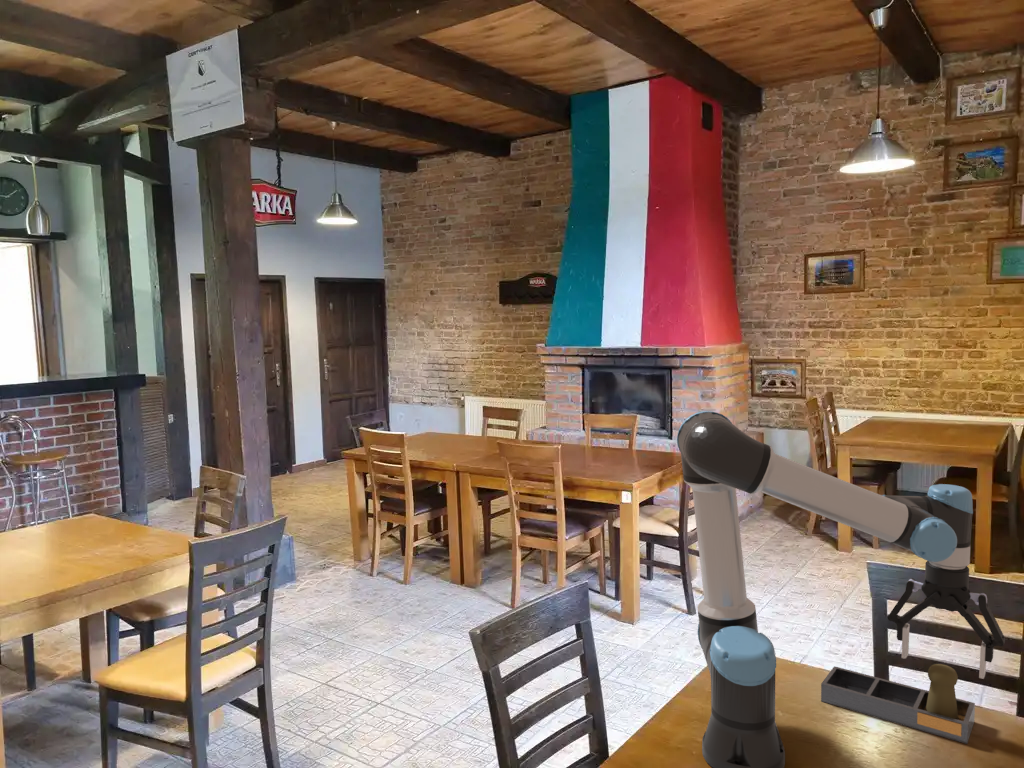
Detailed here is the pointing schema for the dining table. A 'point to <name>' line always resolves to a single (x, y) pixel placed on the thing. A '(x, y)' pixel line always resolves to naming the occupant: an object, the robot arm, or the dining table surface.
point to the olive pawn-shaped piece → (942, 691)
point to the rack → (895, 703)
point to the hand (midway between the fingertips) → (942, 665)
